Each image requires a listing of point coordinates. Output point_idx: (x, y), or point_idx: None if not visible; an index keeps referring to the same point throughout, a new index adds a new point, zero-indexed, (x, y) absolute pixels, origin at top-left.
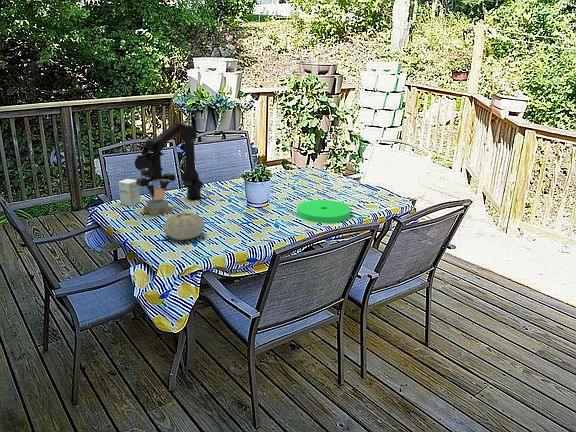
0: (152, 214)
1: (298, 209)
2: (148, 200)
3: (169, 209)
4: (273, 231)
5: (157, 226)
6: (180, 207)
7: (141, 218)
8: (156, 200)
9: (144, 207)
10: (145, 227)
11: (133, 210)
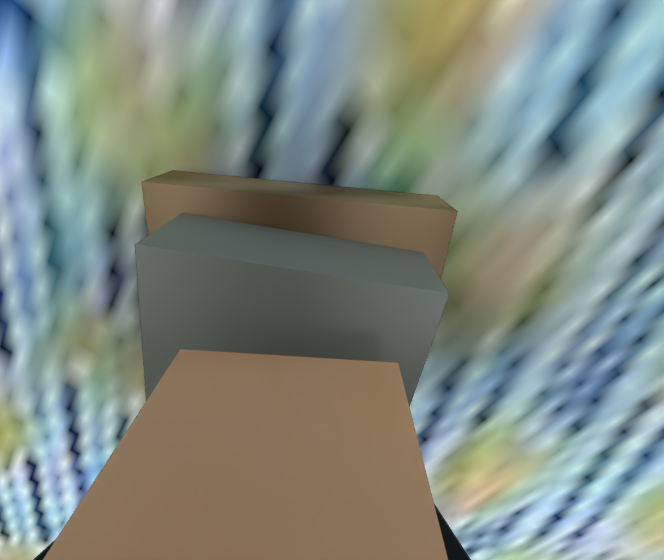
0: None
1: None
2: (178, 260)
3: None
4: None
5: None
6: (552, 352)
7: (63, 359)
8: (298, 349)
9: (148, 203)
10: (40, 513)
11: (41, 25)
